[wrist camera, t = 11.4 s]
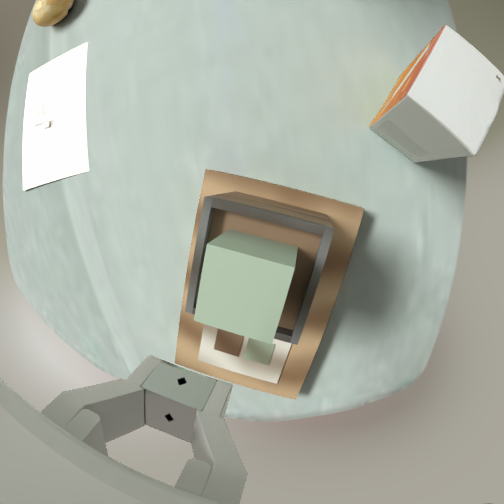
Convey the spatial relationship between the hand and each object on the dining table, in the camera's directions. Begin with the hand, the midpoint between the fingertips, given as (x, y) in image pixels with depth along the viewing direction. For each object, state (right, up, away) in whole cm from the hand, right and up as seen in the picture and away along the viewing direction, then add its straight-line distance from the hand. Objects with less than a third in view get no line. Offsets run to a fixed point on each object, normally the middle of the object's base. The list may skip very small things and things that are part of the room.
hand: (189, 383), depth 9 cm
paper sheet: (-22, +25, +23) cm, 40 cm away
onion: (-30, +46, +19) cm, 58 cm away
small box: (+19, +19, +16) cm, 31 cm away
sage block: (+2, +3, +12) cm, 13 cm away
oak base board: (+3, 0, +24) cm, 24 cm away
